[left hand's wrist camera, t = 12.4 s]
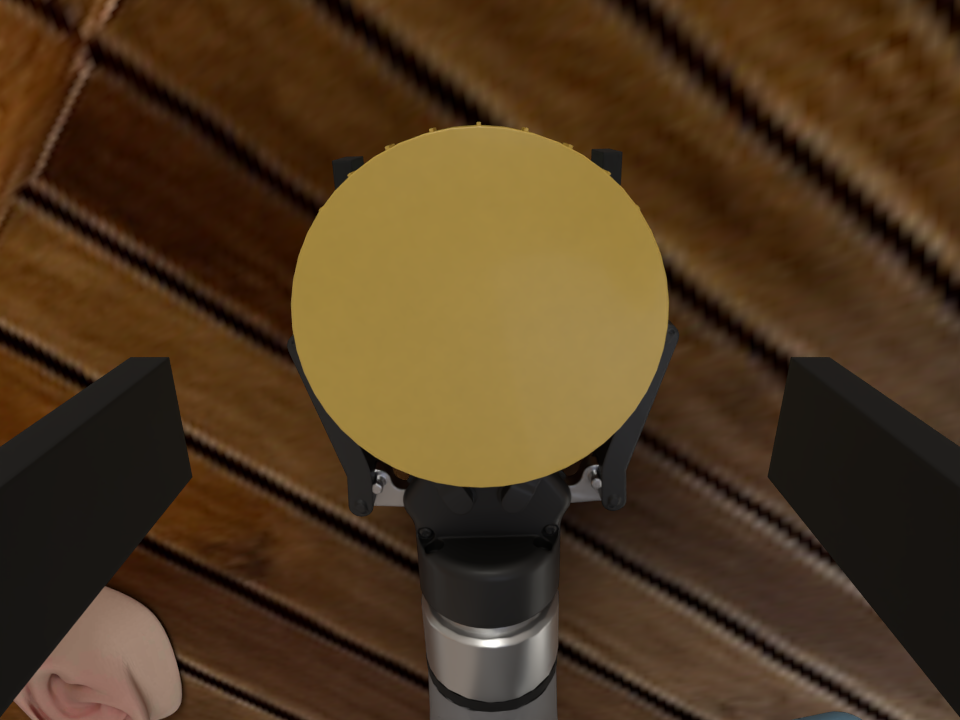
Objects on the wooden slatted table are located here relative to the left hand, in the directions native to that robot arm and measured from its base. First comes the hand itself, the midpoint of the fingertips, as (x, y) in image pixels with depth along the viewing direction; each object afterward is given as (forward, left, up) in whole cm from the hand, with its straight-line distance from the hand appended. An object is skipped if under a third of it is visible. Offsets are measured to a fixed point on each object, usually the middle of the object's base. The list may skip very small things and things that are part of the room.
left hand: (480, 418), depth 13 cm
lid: (0, 0, -6) cm, 6 cm away
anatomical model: (+6, +39, -22) cm, 45 cm away
